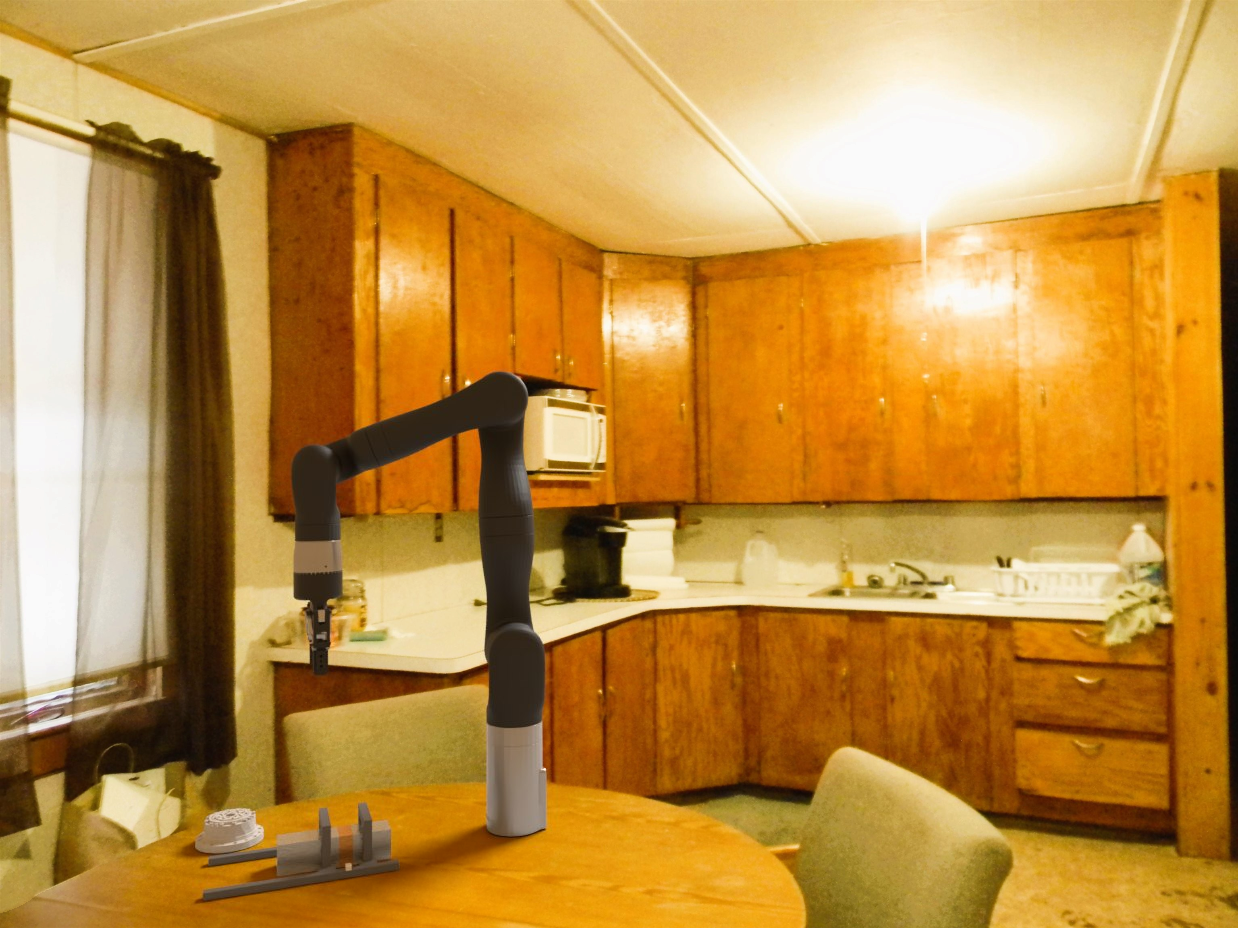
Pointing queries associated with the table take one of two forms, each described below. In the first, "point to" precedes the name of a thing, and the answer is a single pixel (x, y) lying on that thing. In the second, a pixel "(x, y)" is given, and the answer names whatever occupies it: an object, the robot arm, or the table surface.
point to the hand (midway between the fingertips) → (318, 670)
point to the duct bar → (346, 847)
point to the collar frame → (322, 875)
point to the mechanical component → (229, 831)
